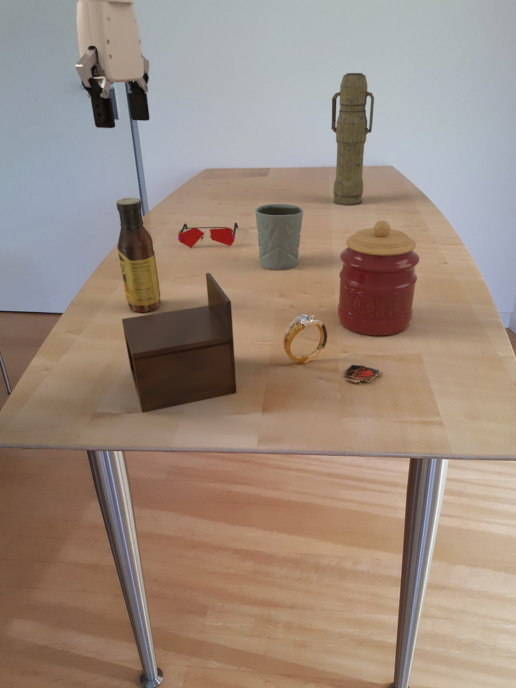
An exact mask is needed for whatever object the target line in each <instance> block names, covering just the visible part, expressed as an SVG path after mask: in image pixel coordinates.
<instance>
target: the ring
mask: <svg viewBox="0 0 516 688" xmlns="http://www.w3.org/2000/svg"><path fill="white" fill-rule="evenodd" d="M296 326H297V327H296ZM309 326H315V327H316V328H317V330H318V332H319V342H318V345H317V347H316V348H315V349H314V351H312V352H311V353H309V354H302V355H301V356H297V355H294V354H293V353H292V351H291V346H292V343H293V340H294V339H295V338H296V337H297V335H298V334H300V333H301V331H303V330H305V328H306V327H309ZM282 342H283V343H282V344H283V349H284V352H285V354H286V355H287V356H288V357H289V359H290V360H292V361H293V362H295V363H304V364H308V363H310V361H312V360H314V359H316V358H317V357H318V356H319V355H321V353H322V352H323V350H324V349H325V347H326V345H327V342H328V331H327V327H326V325H325V324H324V323H323V322H322V321H321V320H319V319H315V313H312V314H311V315H307V313H306V312H303V313H300V314H299V315H297V316H296V317H295V318H294V319H293V320H291V322H290V323H289V324H288V326H287V327H286V330H285V332H284V336H283V341H282Z"/></svg>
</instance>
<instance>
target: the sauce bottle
mask: <svg viewBox="0 0 516 688" xmlns="http://www.w3.org/2000/svg"><path fill="white" fill-rule="evenodd" d="M116 209H117V211H118V215H119V222H120V224H119V225H120V229H119V230H120V231H119V235H118V241H117V245H116V247H117V249H116V250H117V254H118V260H119V266H120V272H121V277H122V283H123V287H124V288H123V289H124V293H125V294H124V295H125V299H126V302H127V305H128V307H129V309H130V310H131V311H132V312H138V313H147V312H153V311H155V310H157V309H158V308H159V307H160V306H161V304H162V302H161V301H162V300H161V288H160V281H159V275H158V274H159V273H158V267H157V261H156V254H155V250H154V244H153V239H152V235H151V234H150V233H149V232H148V229H146V227H144V220H143V214H142V200H141V199H140V198H138V197H124V198H120V199H118V200H116Z"/></svg>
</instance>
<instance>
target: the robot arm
mask: <svg viewBox="0 0 516 688" xmlns="http://www.w3.org/2000/svg"><path fill="white" fill-rule="evenodd" d="M134 4H135V3H134V0H78V1H77V2H76V31H77V43H78V50H79V60H78V61H77V62H76V63H75V71H77V74H78V76H79V78H80V80H81V85H82V86H83V88H84V89H85V90H86V95H87V97H88V98H89V99H90V102H91V103H90V104H91V108H92V114H93V116H92V117H93V120H94V126H95V127H96V128H98V129H99V128H100V129H113V128H115V127H116V121H115V114H114V108H113V101H112V97H109V93H110V90H111V87H112V83H125V85H126V86H127V89H128V90H129V92H127V99H128V106H129V113H130V118H131V120H132V121H142V122H145V121H150V111H149V101H148V93H149V87H148V84H149V79H150V76H149V71H150V61H149V60H148V59H147V58H146V57H145V56H144V54H143V47H142V41H141V36H140V30H139V26H138V25H139V24H138V20H137V16H136V12H135V8H134Z"/></svg>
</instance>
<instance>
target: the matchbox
mask: <svg viewBox="0 0 516 688" xmlns="http://www.w3.org/2000/svg"><path fill="white" fill-rule="evenodd" d="M382 375H383V371H381V370H380V369H378V368H377V369H376V368H374V367H369V366H368V367H367V366H365V365H361V364H360V365H358V364H351V365H350V366H349V367H348V368H347V369H346V371H345V374H344V376H347V381H348V382H350V383H354V384H358V383H357V382H358V381H359V382H367V383H370V382H372V381H373V380H374V379H375V378H376V377H380V376H382ZM356 381H357V382H356Z"/></svg>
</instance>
